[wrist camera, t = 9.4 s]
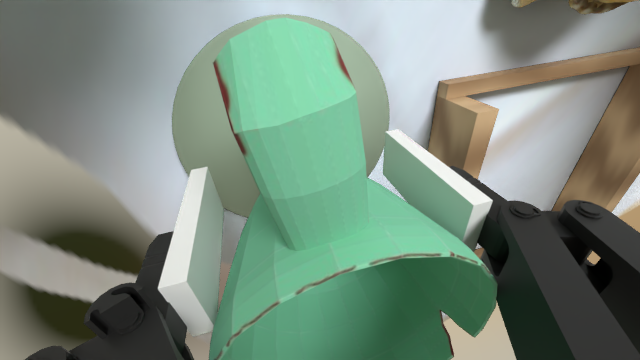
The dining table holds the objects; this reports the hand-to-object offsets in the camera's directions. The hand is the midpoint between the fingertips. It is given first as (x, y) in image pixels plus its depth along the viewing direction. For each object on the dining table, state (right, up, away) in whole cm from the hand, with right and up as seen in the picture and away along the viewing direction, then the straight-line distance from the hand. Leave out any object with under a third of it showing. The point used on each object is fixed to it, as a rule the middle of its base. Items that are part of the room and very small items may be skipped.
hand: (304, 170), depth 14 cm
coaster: (-1, +3, +4) cm, 5 cm away
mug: (-1, +1, +1) cm, 2 cm away
